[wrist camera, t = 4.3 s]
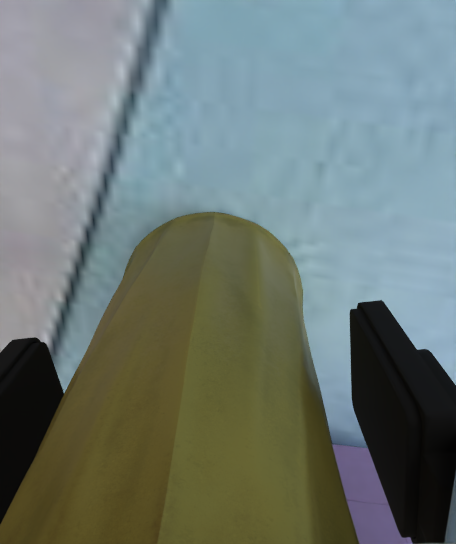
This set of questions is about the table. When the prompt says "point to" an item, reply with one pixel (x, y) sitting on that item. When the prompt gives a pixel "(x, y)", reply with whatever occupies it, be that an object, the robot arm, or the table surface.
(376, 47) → the table surface
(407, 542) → the bowl
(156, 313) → the vase
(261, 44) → the table surface
